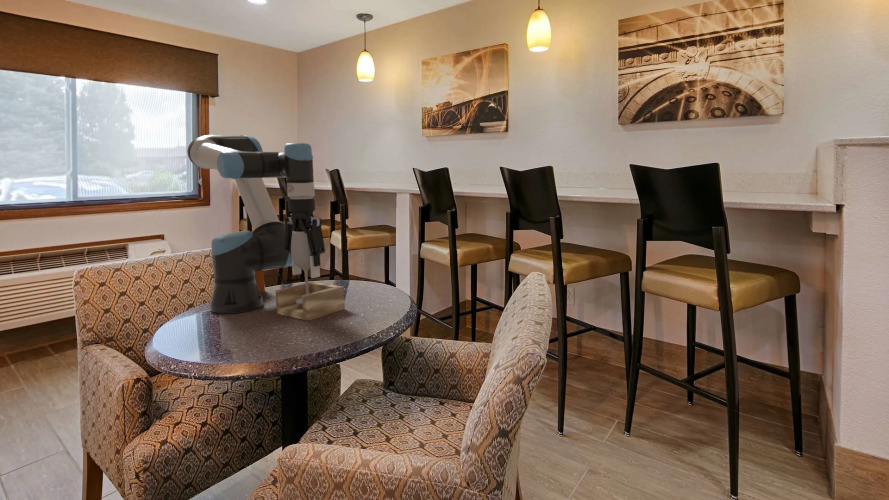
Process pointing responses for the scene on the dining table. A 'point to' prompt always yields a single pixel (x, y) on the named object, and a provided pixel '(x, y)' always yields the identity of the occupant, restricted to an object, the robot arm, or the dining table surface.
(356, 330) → the dining table surface
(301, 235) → the wineglass
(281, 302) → the tan wooden open box
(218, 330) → the dining table surface
